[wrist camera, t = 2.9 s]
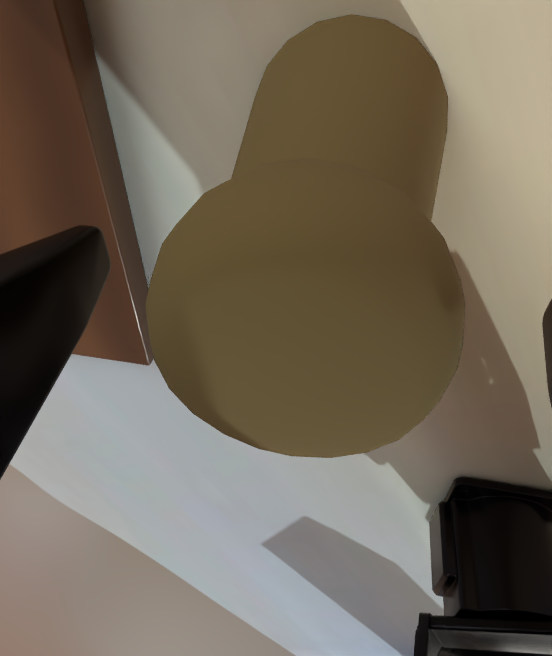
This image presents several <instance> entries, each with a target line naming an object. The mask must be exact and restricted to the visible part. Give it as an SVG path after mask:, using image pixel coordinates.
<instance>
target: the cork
mask: <svg viewBox="0 0 552 656" xmlns="http://www.w3.org/2000/svg"><path fill="white" fill-rule="evenodd" d="M447 112H448V96H447V93H446V90H445V87H444V84H443V81H442V77H441V74H440V71H439V68H438V65H437V64H436V62H435V61H434V60H433V59H432V57H431V56H430V55H429V53H428V52H427V51H426V50H425V48H424V47H423V46H422V44H421V43H420V42H419V41H418V39H417V38H416V37H414V36H412V35H411V34H409V33H407V32H406V31H404V30H402V29H401V28H399V27H397V26H395V25H394V24H392V23H390V22H389V21H387V20H383V19H376V18H370V17H364V16H357V15H347V16H343V17H338V18H333V19H329V20H324V21H320V22H317V23H315V24H313V25H312V26H310V27H309V28H307V29H305V30H304V31H302V32H301V33H299V34H297V35H296V36H294V37H293V38H291V39H289V40H288V41H287V42H286V43H285V45H284V46H283V47H282V48H281V50H280V51H279V52H278V53H277V55H276V56H275V57H274V58H273V60H272V61H271V62H270V63H269V64H268V66H267V67H266V70H265V72H264V75H263V78H262V80H261V83H260V85H259V88H258V91H257V93H256V96H255V99H254V102H253V106H252V109H251V113H250V116H249V120H248V123H247V126H246V130H245V133H244V137H243V140H242V144H241V147H240V150H239V154H238V157H237V161H236V164H235V168H234V171H233V175H232V178H231V179H230V180H228V181H226V182H224V183H222V184H220V185H219V186H217V187H215V188H213V189H211V190H209V191H208V192H206V193H204V194H203V195H202V196H201V197H200V198H199V200H198V201H197V202H196V203H195V204H194V205H193V206H192V207H191V209H190V210H189V211H188V212H187V213H186V214H185V215H184V216H183V218H182V219H181V220H180V221H179V222H178V223H177V224H176V226H175V227H174V228H173V230H172V231H171V232H170V234H169V235H168V237H167V238H166V239H165V241H164V242H163V243H162V246H161V249H160V252H159V255H158V259H157V262H156V265H155V268H154V271H153V274H152V278H151V281H150V285H149V290H148V294H147V298H146V303H145V306H146V314H147V323H148V331H149V339H150V343H151V348H152V352H153V357H154V360H155V362H156V364H157V366H158V368H159V370H160V372H161V374H162V376H163V378H164V380H165V382H166V383H167V385H168V387H169V389H170V390H171V391H172V392H173V393H174V394H175V395H176V396H177V397H178V398H179V399H180V400H181V402H182V403H183V404H184V405H185V406H186V407H187V408H188V409H189V410H190V411H191V412H192V413H193V414H194V415H196V416H197V417H199V418H200V419H202V420H203V421H205V422H206V423H208V424H209V425H211V426H213V427H214V428H216V429H217V430H219V431H220V432H222V433H223V434H225V435H227V436H230V437H232V438H234V439H237V440H239V441H241V442H244V443H246V444H249V445H251V446H253V447H256V448H258V449H262V450H267V451H271V452H275V453H280V454H284V455H289V456H301V457H322V458H332V457H339V456H346V455H353V454H360V453H366V452H369V451H371V450H374V449H376V448H379V447H381V446H384V445H386V444H389V443H391V442H394V441H397V440H399V439H400V438H401V437H403V436H404V435H405V434H406V433H408V432H409V431H410V430H411V429H412V428H414V427H415V426H416V425H417V424H419V423H420V422H421V421H422V420H424V419H425V417H426V416H427V415H428V414H429V413H430V412H431V410H432V409H433V408H434V407H435V406H436V404H437V403H438V402H439V401H440V399H441V397H442V395H443V394H444V392H445V390H446V388H447V386H448V384H449V383H450V381H451V379H452V377H453V375H454V373H455V372H456V370H457V367H458V363H459V358H460V354H461V350H462V346H463V332H464V315H465V301H464V296H463V290H462V285H461V280H460V278H459V275H458V272H457V270H456V267H455V265H454V262H453V260H452V257H451V254H450V252H449V249H448V247H447V244H446V241H445V239H444V238H443V236H442V235H441V234H440V232H439V231H438V230H437V228H436V227H435V226H434V224H433V223H432V222H431V218H432V213H433V207H434V201H435V196H436V190H437V184H438V179H439V173H440V168H441V162H442V156H443V151H444V145H445V139H446V134H447Z"/></svg>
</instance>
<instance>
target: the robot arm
mask: <svg viewBox="0 0 552 656" xmlns="http://www.w3.org/2000/svg"><path fill="white" fill-rule="evenodd" d="M110 269H111V260H110V256H109V253H108V249H107V246H106V242H105V238H104V235H103V232H102V231H101V229H100V228H98V227H95V226H87V225H78V226H75V227H73V228H70V229H67V230H65V231H62V232H59V233H56V234H54V235H51V236H48V237H46V238H43V239H40V240H38V241H35V242H32V243H30V244H27V245H24V246H21V247H19V248H16V249H13V250H11V251H8V252H5V253H3V254H0V479H1V477H2V476H3V474H4V472H5V470H6V469H7V467H8V465H9V463H10V462H11V460H12V458H13V456H14V455H15V453H16V451H17V449H18V447H19V446H20V444H21V442H22V440H23V439H24V437H25V435H26V433H27V432H28V430H29V428H30V426H31V425H32V423H33V421H34V419H35V417H36V416H37V414H38V412H39V410H40V409H41V407H42V405H43V403H44V402H45V400H46V398H47V396H48V395H49V393H50V391H51V389H52V387H53V386H54V384H55V382H56V380H57V379H58V377H59V375H60V373H61V372H62V370H63V368H64V366H65V364H66V363H67V361H68V359H69V357H70V356H71V354H72V352H73V350H74V349H75V347H76V345H77V343H78V342H79V340H80V338H81V336H82V334H83V332H84V331H85V329H86V327H87V324H88V322H89V320H90V318H91V316H92V313H93V311H94V308H95V306H96V304H97V301H98V299H99V296H100V294H101V292H102V289H103V287H104V285H105V282H106V280H107V277H108V275H109V273H110ZM542 325H543V337H544V349H545V361H546V372H547V383H548V391H549V397H550V402H551V407H552V299H551V301H550V303H549V305H548V307H547V309H546V311H545V313H544V316H543V323H542ZM429 526H430V548H431V570H432V590H433V591H434V593H435V594H436V595H438V596H442V597H443V602H444V616H433V615H431V614H430V613H420V614H419V623H418V626H417V629H416V635H415V646H414V656H552V492H547V491H541V490H536V489H530V488H524V487H518V486H512V485H506V484H500V483H494V482H488V481H482V480H476V479H471V478H463V477H461V478H457V479H455V480H454V481H453V483H452V485H451V487H450V489H449V491H448V493H447V495H446V497H445V499H444V501H442V502H440V503H439V504H438V506H437V508H436V510H435V512H434V514H433V516H432V518H431V521H430V523H429Z"/></svg>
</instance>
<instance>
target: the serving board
mask: <svg viewBox="0 0 552 656" xmlns="http://www.w3.org/2000/svg"><path fill="white" fill-rule="evenodd" d="M78 225H87V226H95V227H98V228H100V229H101V231H102V232H103V235H104V238H105V242H106V246H107V249H108V253H109V256H110V260H111V269H110V273H109V275H108V277H107V280H106V282H105V285H104V287H103V289H102V292H101V294H100V296H99V299H98V301H97V304H96V306H95V308H94V311H93V313H92V316H91V318H90V320H89V322H88V324H87V327H86V329H85V331H84V332H83V334H82V336H81V338H80V340H79V342H78V343H77V345H76V347H75V349H74V350H73V352H72V354H76V355H83V356H89V357H96V358H103V359H109V360H116V361H123V362H129V363H136V364H143V365H150V364H151V362H152V360H153V358H154V357H153V352H152V348H151V343H150V339H149V331H148V323H147V314H146V306H145V303H146V298H147V294H148V285H147V281H146V277H145V272H144V268H143V263H142V259H141V254H140V250H139V246H138V241H137V237H136V232H135V228H134V224H133V219H132V215H131V210H130V206H129V201H128V197H127V193H126V188H125V184H124V179H123V175H122V171H121V166H120V162H119V157H118V153H117V149H116V144H115V140H114V135H113V131H112V126H111V122H110V118H109V113H108V109H107V104H106V100H105V96H104V91H103V87H102V82H101V78H100V73H99V69H98V65H97V60H96V56H95V51H94V47H93V43H92V38H91V34H90V29H89V25H88V21H87V16H86V12H85V7H84V3H83V0H0V254H3V253H5V252H8V251H11V250H13V249H16V248H19V247H21V246H24V245H27V244H30V243H32V242H35V241H38V240H40V239H43V238H46V237H48V236H51V235H54V234H56V233H59V232H62V231H65V230H67V229H70V228H73V227H75V226H78Z"/></svg>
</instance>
